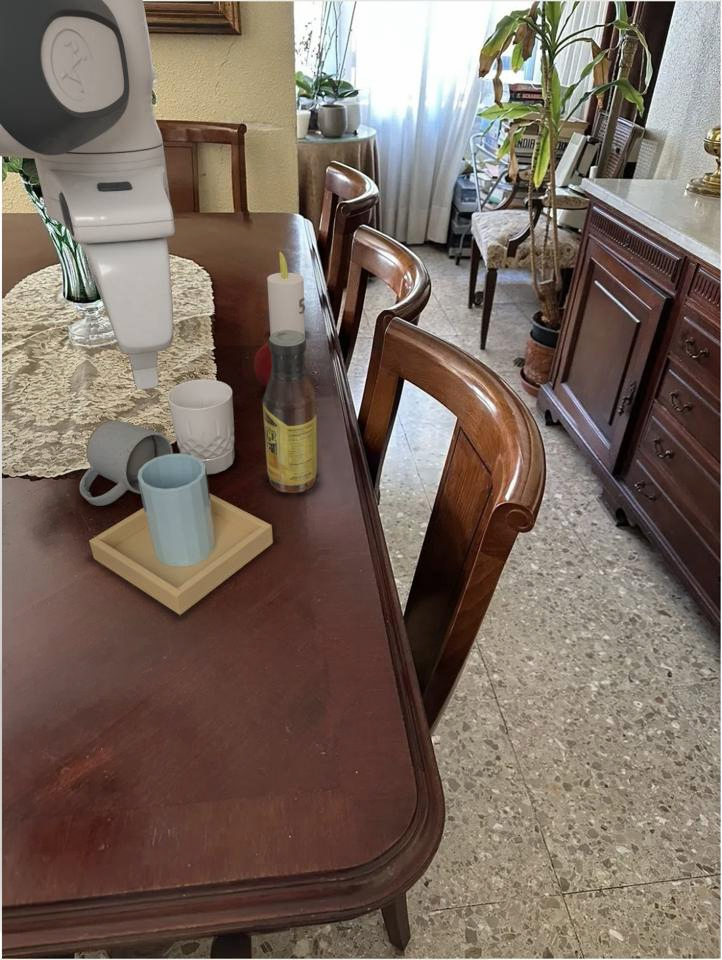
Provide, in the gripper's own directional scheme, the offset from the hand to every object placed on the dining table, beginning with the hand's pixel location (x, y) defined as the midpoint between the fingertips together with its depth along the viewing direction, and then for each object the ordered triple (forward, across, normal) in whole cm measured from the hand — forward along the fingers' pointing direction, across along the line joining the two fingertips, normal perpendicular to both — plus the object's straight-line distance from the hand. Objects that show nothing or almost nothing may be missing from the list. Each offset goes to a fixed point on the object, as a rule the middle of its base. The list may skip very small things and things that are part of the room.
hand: (137, 361), depth 56 cm
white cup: (+24, -19, +8) cm, 32 cm away
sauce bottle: (+24, -10, +17) cm, 31 cm away
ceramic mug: (+24, -18, -2) cm, 30 cm away
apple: (+24, -35, +24) cm, 48 cm away
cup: (+23, -3, +2) cm, 24 cm away
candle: (+23, -55, +32) cm, 67 cm away
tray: (+24, -3, +2) cm, 24 cm away
